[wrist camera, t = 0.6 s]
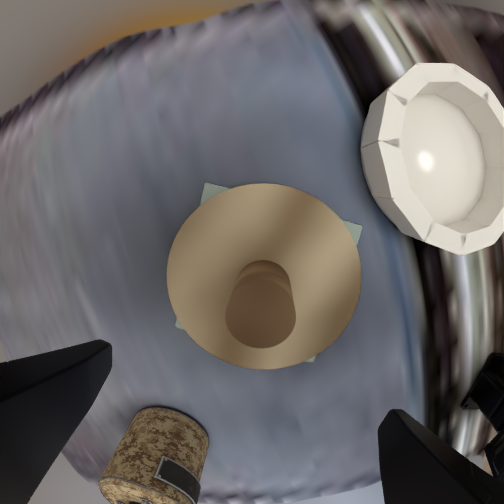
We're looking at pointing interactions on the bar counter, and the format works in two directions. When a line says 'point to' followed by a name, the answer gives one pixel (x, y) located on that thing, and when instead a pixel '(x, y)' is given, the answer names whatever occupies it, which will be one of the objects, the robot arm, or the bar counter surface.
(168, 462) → the camo cylindrical pouch
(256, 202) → the lid
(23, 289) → the bar counter surface
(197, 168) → the bar counter surface
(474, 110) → the bowl
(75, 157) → the bar counter surface
